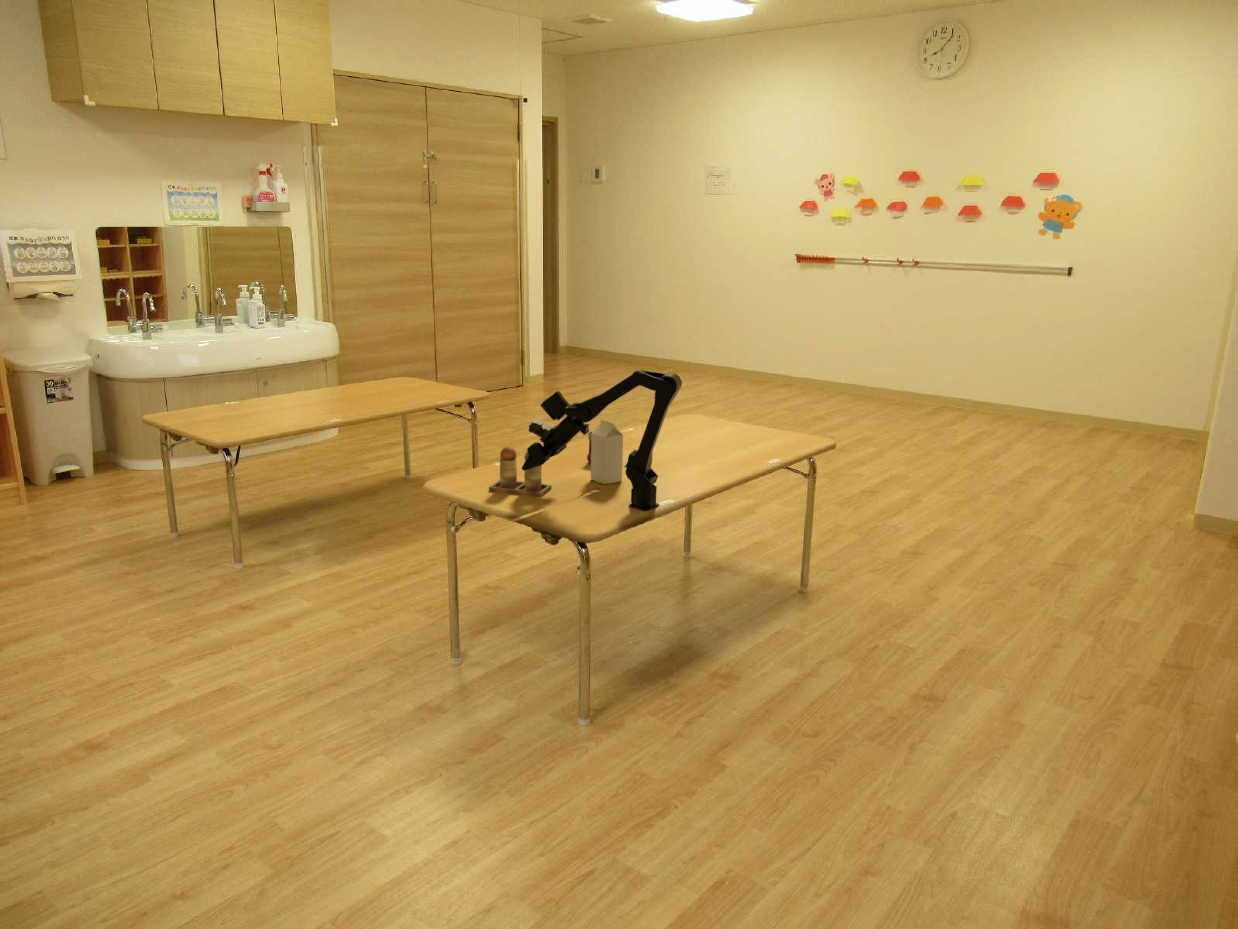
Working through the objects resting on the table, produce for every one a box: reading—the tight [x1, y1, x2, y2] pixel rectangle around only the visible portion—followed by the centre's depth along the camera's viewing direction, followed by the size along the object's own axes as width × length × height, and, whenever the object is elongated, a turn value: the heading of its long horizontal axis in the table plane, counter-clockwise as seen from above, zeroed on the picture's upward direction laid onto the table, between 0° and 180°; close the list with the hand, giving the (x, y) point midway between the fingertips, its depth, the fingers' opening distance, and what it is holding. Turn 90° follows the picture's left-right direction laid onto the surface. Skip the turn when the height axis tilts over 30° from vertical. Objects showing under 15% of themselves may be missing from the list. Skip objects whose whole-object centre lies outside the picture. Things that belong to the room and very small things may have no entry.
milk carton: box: [590, 419, 624, 485], centre depth 279 cm, size 7×7×19 cm
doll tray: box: [488, 479, 553, 498], centre depth 267 cm, size 16×9×2 cm, turn 74°
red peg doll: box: [499, 446, 518, 489], centre depth 267 cm, size 5×5×13 cm
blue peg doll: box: [523, 451, 542, 492], centre depth 264 cm, size 5×5×13 cm
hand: (528, 465), depth 264 cm, fingers open, 9 cm apart
